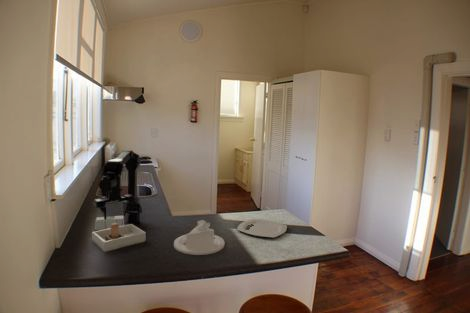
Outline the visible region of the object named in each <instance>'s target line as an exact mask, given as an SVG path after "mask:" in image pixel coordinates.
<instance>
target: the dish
mask: <svg viewBox="0 0 470 313" xmlns="http://www.w3.org/2000/svg"><path fill="white" fill-rule="evenodd" d="M196 222H197V225H196V226H195V227H194V228H193V229H192V230H191V231H190V232H189V233H186V234H183V235H181V236H179V237H177V238H175V239H174V241H173V247H174V249H175V250H176V251H178V252H180V253H183V254H187V255H193V256H194V255H195V256H204V255H205V256H206V255H209V254H210V255H211V254H215V253H217V252H220V251H221V250H223V249H224V247H225V244H226V242H225V240H224V238H222V237H221V236H219V235H218V234H215V229H212V228H209V227H210V226H211V222H207V221H206V220H203V219H201V220H198V221H196ZM214 238H215V239H214Z"/></svg>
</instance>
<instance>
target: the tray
mask: <svg viewBox="0 0 470 313" xmlns="http://www.w3.org/2000/svg"><path fill="white" fill-rule="evenodd" d="M119 233H121V234H122V235H123V236H125V237H121V238H117V239H113V240H108V241H106V240H105V236H106V235H110V234H111V228H109V229H104V230H95V231H92V232H91V241H92V242H93V243H94V244H95V245H96V246H97V247H98V248H99V249H101V250H102V252H104V253H106V252H109V251H114V250H117V249H121V248H125V247H129V246H131V245H135V244H139V243H140V244H141V243H145V242H147V241H146V236H147V235H146V231H144V230H142V229H141V228H139V227H138V226H136V225H135V224H128V223H127V224H124V225H123V226H119Z"/></svg>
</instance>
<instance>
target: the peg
mask: <svg viewBox="0 0 470 313" xmlns="http://www.w3.org/2000/svg"><path fill="white" fill-rule="evenodd" d="M118 237H119V223H113V224H111V239H114V238H118Z"/></svg>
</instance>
